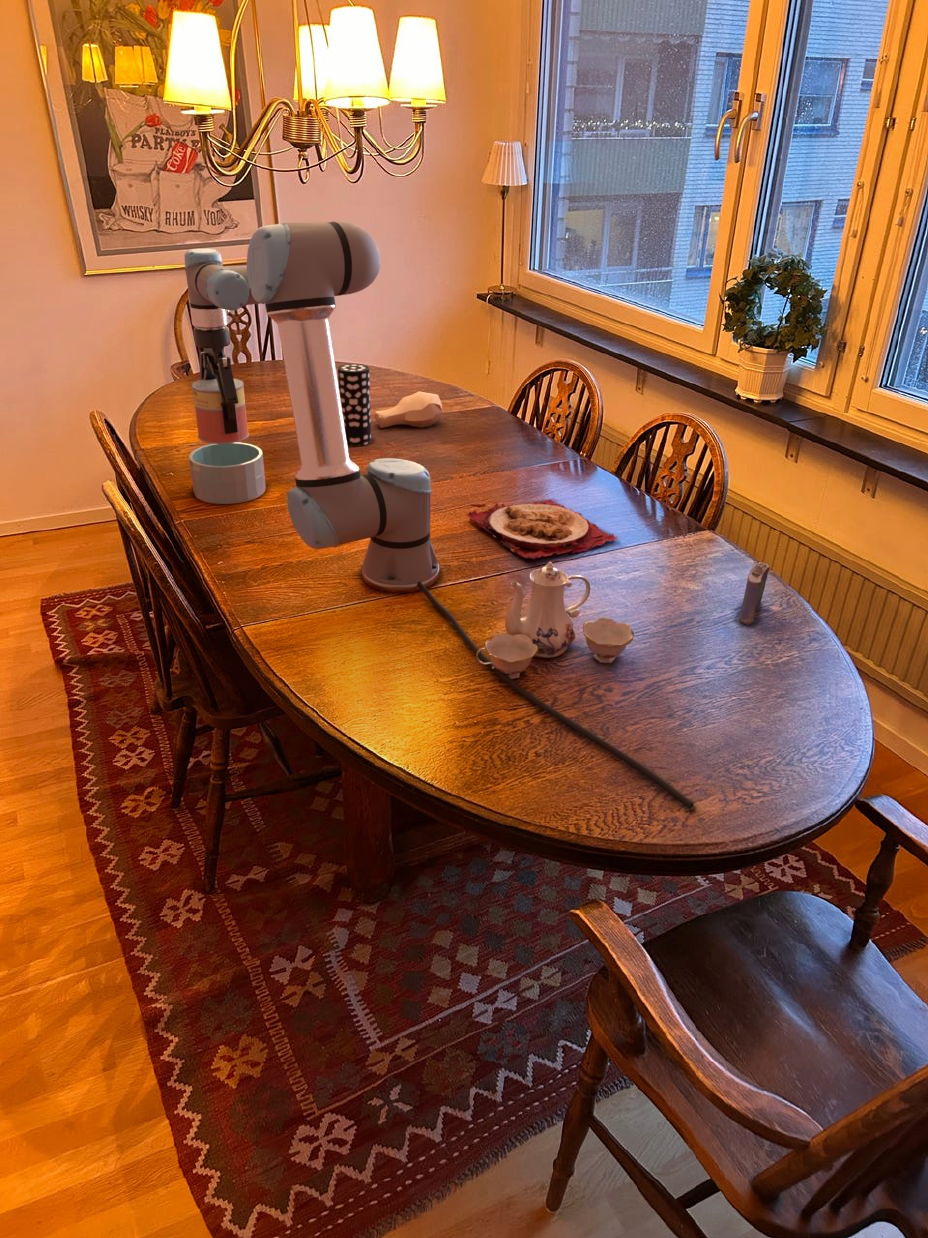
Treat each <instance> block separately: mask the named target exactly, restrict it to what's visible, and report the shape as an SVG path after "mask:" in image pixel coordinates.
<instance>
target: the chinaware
mask: <svg viewBox="0 0 928 1238" xmlns="http://www.w3.org/2000/svg"><path fill="white" fill-rule="evenodd" d="M529 578H530V581H531V582H530V583H531V593H530V597H529V601H528V603H527V604H526V607H525V609H524V611H522V608H523V602H524V588H523V586H522V585H521V584H520V583H519V582H516V581H512V582H510V585H511V586H512V587H513V589H514V595H513V598H512V601H511V603H510V605H509V607H508V609H507V610H508V611H506V615H505V621H504V626H505V628H504V629H505V631H506V632H498V633H496V634H494V636H492V638H491V639H490V640H486V641H485V643H484V644H483V647H481V648H478V649H479V650H478V652H477V654H475V658H476V661H477V662H478V663H479V664H480V665H484V666H487V664H493V667H492V669H493V668H496V669H497V670H499V671H500V672H502V673H505V674H506V675H507V676H508V677H510V678H511V679H512V680H514V679H516V678H520V674H521V673H522V672H523V671H525V670H526V669H527V668H528V667H529V665H530V664H531V662H532V659H533V658H534V657H535V658H540V659H550V658H551V659H552V658H557V657H560V656H562V655H563V654H565V653H566V652H567V649H568V646H570V645H571V644H573V642H574V641H575V640H576V632H575V630H574V624H573V622H572V619H575V618H577V617H578V616H579V614H580V609H579V607H581V606H583V605H584V603H585V602H586V601H587V600H588V598H589V596H590V594H591V585H590V582H589V580H588V579H587V578H586V577H585V576H583V575H579V574H574V575H569V576H568V574H567V573H566V572H564V571H562V570H560V569H558V568H556V567H555V564H553V562H552V561H548V562H547V563H546V564H545V566H544V567H542V568H538V569H534V570H533V571H531V572H530V573H529ZM570 580H582V581H583V582H584V584H585V591H584V594H583V596H582V597H581V599H580V600H579V601H578V602H576V603H575V604H574V605H571V606H569V607H567V608H566V609H565V601H564V599H565V598H564V597H565V588H566V587H567V588H571V587H572V586H573V583H572V582H571V581H570ZM582 625H583V626H582V632H583V636H584V638H585V641H586V645H587V646H588V649H589V650H590V651H591V653H592V654H594V655H593V658H594V659H595V660H596V661H598V662H599V663H604V664H605V663H606V664H612V662H613V661H614V660H616V657H618V656H619V655H621V654H622V653H623V652H625V650H626V648H627V646H628V645H630V644H631V642H633V640H634V637H635V632H634V631H633V629H632V627H631V626H630V625H629V624H627V623H626V622H616V621H615V620H614V619H612V618H609V617H600V618H597V619H596V620H594V621H586V622H584V623H583V624H582ZM480 651H481V652H482V651H484V653H487V654H488V656H489V660H490V661H491V662H488V663H484V662H483V661H482V660H481V659H480V658H479V657H478V653H479V652H480Z"/></svg>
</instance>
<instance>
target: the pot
mask: <svg viewBox="0 0 928 1238" xmlns="http://www.w3.org/2000/svg"><path fill="white" fill-rule="evenodd" d="M188 461H189V469H190V476H191V483H192V489H193V494H194V496H195V498H197V499H198V500H199V501H202V502H204V503H208V504H215V505H233V504H240V503H245V502H249V501H253V500H255V499H257V498H259V497H261V496H262V495H264V493H265V491H266V489H267V486H266V485H267V483H266V475H265V464H264V463H265V462H264V455H263V450H262V449H261V448H260V447H259V446H256V445H255V444H251V443H245V442H235V443H229V444H211V443H208V444H206V445H203V446H199V447H197V448H195V449H193V450H191V452H190V453H189V454H188Z"/></svg>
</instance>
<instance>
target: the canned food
mask: <svg viewBox="0 0 928 1238" xmlns="http://www.w3.org/2000/svg"><path fill="white" fill-rule="evenodd" d="M233 379H234V384H235V388H236V393H237V398H238V404H235V411H236V420H237V429H238V432H236V433H230V434H225V429H224V420H223V412H222V406H221V405H220V404H221V403H222V402H223V401H222V397H221V391H220V390H219V387H218V384H217V380H216V379H209V380H205V379H201V380H200V379H197V380H195V381H194V382H192V383H191V388H192V397H193V404H194V411H195V417H196V427H197V434H198V437H197V438H198V439H199V441H201V442H202V443H203V442H204V443H207V444H229V443H235V442H238V443H240V442H242V441H244V440H246V439H247V438H249V436H250V433H249V428H248V427H249V426H248V419H247V418H248V417H247V408H246V397H245V388H244V385H245V383H244V381H243V380H242V379H239V378H235V377H233ZM229 399H231V398H229Z"/></svg>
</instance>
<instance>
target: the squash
mask: <svg viewBox="0 0 928 1238" xmlns="http://www.w3.org/2000/svg"><path fill="white" fill-rule="evenodd" d="M442 414H443V405H442V401H441V399H440V396H439V394H435V393H429V392H423V391H420V390H419V391H417V392H415V393H413V394H410V395H407V396H404V397H402V398H401V399H400V400H399V402H398V403H397V404H396V405H394V407H392V408H388V409H383V410H376V411H374V419H375V420H376V423H377V425H378V426H379V428H380V429H385V428H388V427H391V426H396V425H407V426H410V427H416V428H425V427H431V426H433V425H434V424H435V423H437V422H438V421H439V420H441V419H442Z"/></svg>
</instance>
